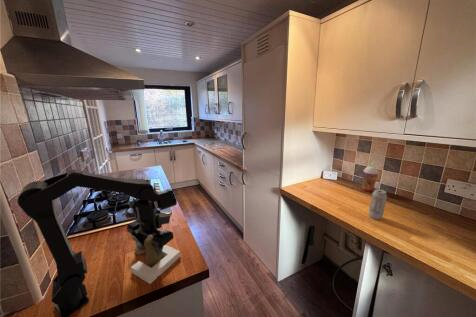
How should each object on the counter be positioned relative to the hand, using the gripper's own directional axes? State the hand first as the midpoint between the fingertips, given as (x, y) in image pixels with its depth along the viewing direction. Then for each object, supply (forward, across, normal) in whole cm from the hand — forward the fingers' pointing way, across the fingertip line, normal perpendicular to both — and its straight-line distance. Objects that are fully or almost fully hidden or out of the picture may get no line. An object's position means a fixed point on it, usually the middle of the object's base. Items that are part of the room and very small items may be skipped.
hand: (152, 250), depth 73 cm
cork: (+6, 0, 0) cm, 6 cm away
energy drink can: (+6, -78, -76) cm, 109 cm away
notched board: (+6, -2, 0) cm, 6 cm away
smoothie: (+6, -76, -113) cm, 137 cm away
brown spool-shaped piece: (+6, +10, -3) cm, 12 cm away
